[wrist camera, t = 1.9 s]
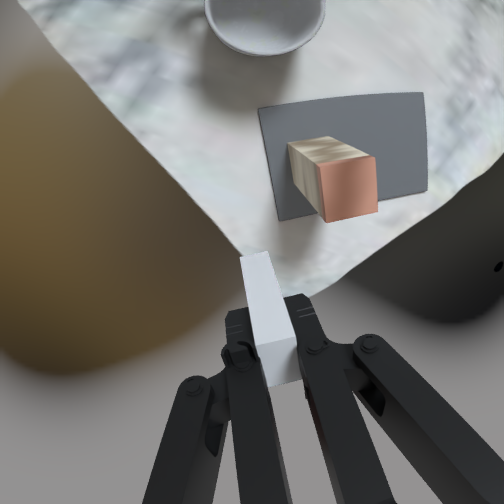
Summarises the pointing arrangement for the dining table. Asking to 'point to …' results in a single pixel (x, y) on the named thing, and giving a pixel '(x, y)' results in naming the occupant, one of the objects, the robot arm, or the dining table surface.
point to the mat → (350, 141)
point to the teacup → (265, 24)
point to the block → (334, 177)
